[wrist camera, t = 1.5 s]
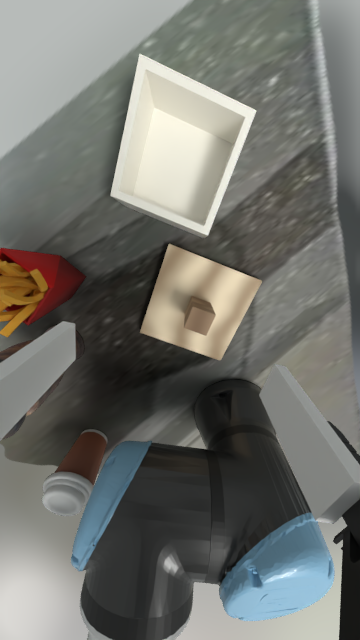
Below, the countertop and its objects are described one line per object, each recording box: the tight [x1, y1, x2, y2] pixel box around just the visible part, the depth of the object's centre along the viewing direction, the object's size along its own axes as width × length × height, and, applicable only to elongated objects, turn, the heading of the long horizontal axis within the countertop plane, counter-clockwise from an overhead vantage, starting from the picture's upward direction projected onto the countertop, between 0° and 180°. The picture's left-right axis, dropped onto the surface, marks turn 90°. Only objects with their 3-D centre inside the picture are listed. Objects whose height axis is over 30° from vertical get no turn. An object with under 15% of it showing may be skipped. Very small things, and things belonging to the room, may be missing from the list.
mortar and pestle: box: [0, 325, 84, 440], centre depth 26 cm, size 12×9×20 cm
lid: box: [140, 244, 262, 360], centre depth 29 cm, size 15×15×8 cm
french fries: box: [0, 248, 86, 337], centre depth 24 cm, size 9×8×15 cm
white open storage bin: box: [110, 54, 256, 238], centre depth 23 cm, size 12×12×6 cm
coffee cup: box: [42, 429, 108, 516], centre depth 38 cm, size 9×9×12 cm
